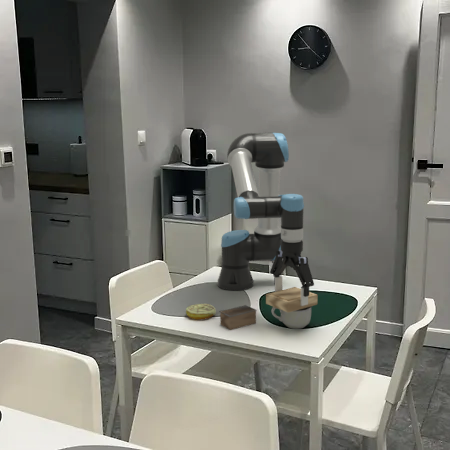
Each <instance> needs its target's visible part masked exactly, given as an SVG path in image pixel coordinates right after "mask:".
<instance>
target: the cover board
mask: <svg viewBox="0 0 450 450" xmlns="http://www.w3.org/2000/svg"><path fill="white" fill-rule="evenodd" d="M318 296H319V295H318V294H316V293H314V292H311V291H309V296H308V305H304V306H301V287H297V286H292V287H289V288H285V289H282V290H280V291H276V292H275V291H274V292H268V293H266V294H265V305H269V306H271V307H272V308H273V307H275V308H278V309H277V310H279V309H280V310H283V311H285V312H288V313H289V312H292V311H296V310H299V309H303V308H307V307H310V306H312V307H313V306H317V305H318V298H319V297H318ZM280 310H279V311H280Z"/></svg>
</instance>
